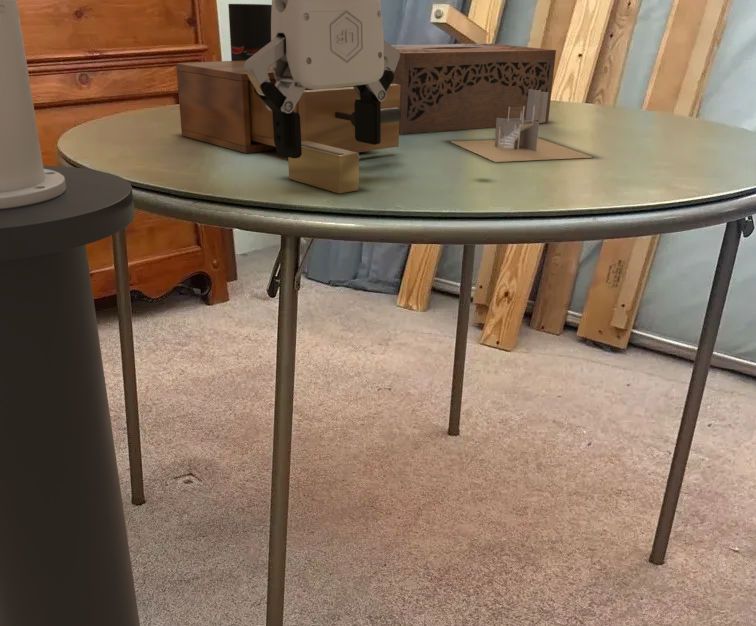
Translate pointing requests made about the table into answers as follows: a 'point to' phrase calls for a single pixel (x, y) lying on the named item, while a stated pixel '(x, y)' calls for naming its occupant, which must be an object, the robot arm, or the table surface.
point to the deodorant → (249, 29)
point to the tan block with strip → (326, 167)
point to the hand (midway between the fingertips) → (329, 149)
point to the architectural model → (521, 136)
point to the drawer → (328, 118)
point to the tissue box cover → (468, 84)
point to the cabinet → (217, 104)
